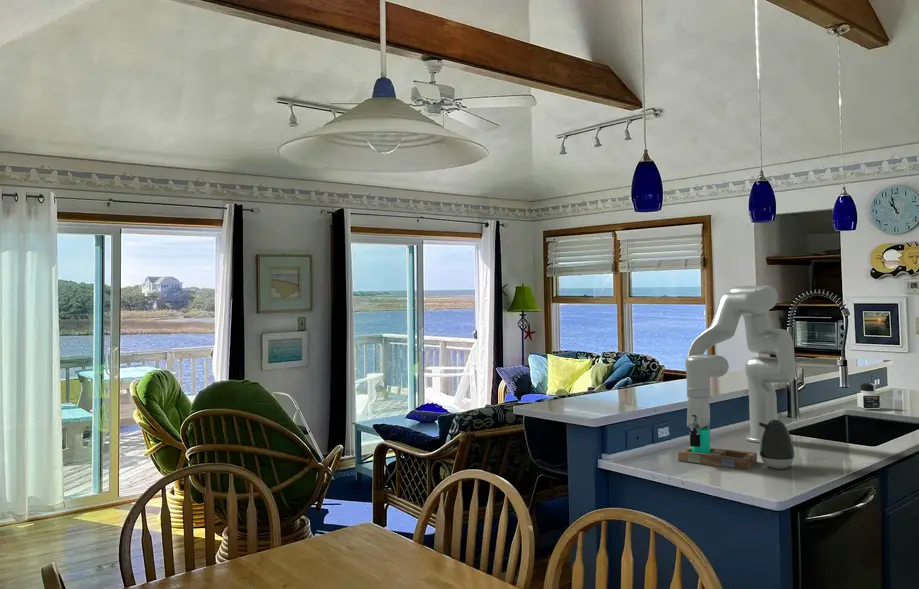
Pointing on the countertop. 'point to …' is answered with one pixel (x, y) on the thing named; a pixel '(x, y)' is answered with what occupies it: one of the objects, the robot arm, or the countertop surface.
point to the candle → (703, 442)
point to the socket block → (719, 458)
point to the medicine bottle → (868, 396)
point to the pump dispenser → (776, 445)
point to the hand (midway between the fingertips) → (700, 443)
